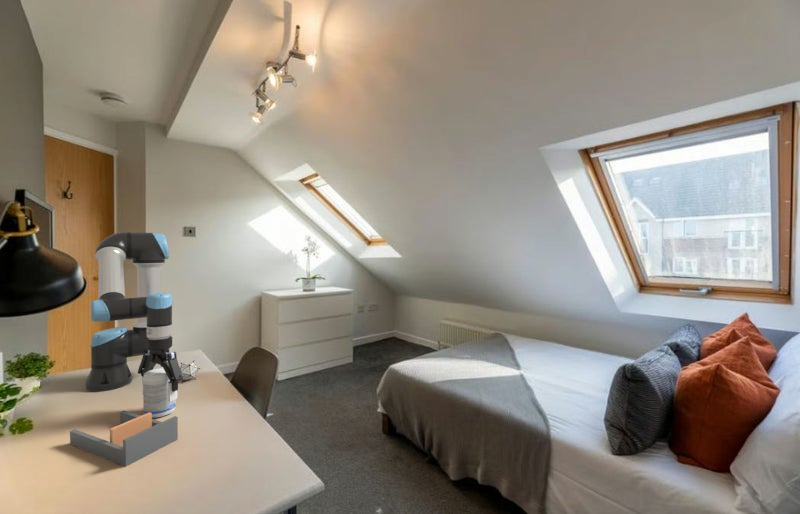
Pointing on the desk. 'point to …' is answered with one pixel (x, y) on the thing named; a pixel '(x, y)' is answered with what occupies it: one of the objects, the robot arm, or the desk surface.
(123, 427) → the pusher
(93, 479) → the desk surface
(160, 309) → the robot arm
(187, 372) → the game die
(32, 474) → the desk surface
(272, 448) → the desk surface
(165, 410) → the supplement tub
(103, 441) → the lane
